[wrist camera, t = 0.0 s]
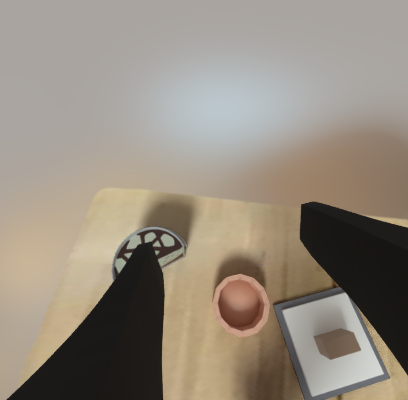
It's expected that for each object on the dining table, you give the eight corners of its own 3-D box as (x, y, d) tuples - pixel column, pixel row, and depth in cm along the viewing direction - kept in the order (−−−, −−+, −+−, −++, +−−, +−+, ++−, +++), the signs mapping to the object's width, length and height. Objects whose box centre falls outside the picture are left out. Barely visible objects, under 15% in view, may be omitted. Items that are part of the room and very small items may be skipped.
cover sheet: (381, 372, 33) (401, 382, 30) (310, 394, 32) (323, 408, 29) (344, 292, 38) (358, 293, 34) (281, 310, 37) (289, 312, 33)
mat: (387, 377, 33) (390, 378, 33) (306, 403, 32) (307, 405, 32) (344, 285, 39) (346, 285, 38) (273, 305, 37) (274, 305, 37)
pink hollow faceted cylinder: (270, 323, 36) (277, 327, 33) (220, 337, 36) (222, 343, 32) (253, 270, 40) (257, 268, 36) (207, 282, 39) (207, 282, 35)
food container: (178, 226, 43) (170, 210, 34) (191, 252, 41) (186, 243, 32) (122, 255, 41) (97, 246, 32) (133, 284, 39) (110, 284, 30)
